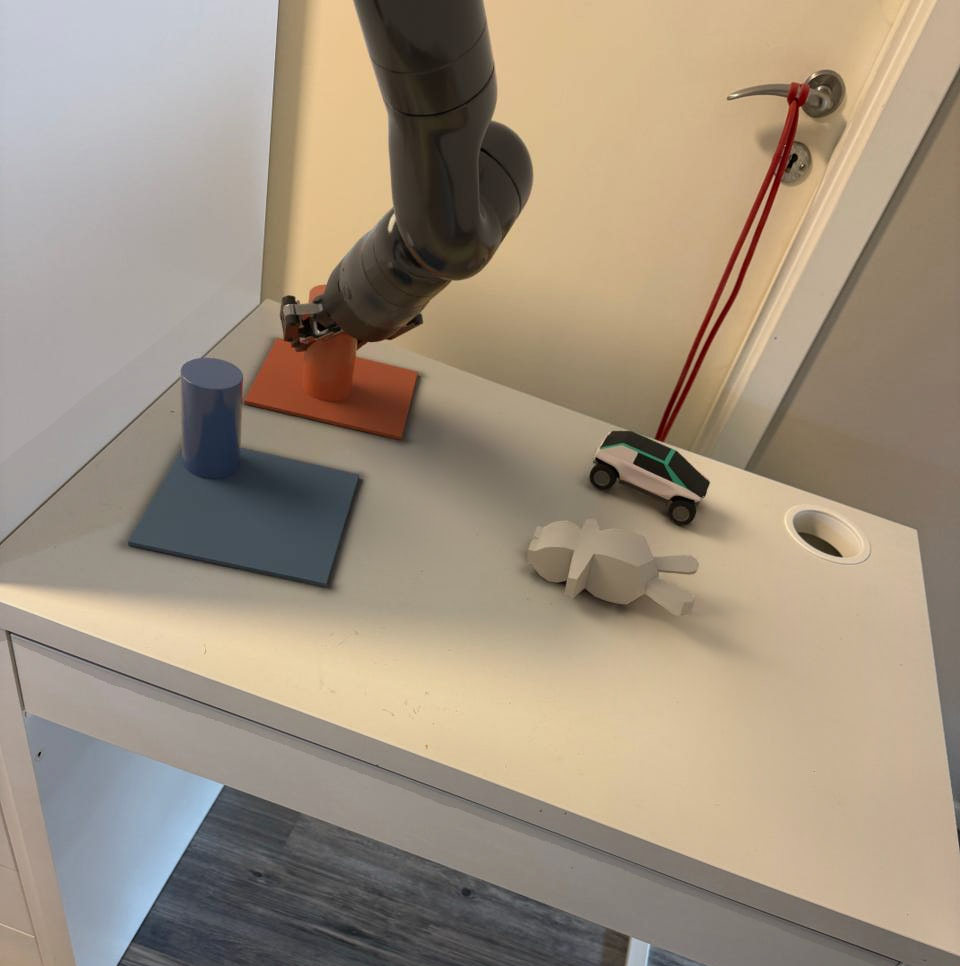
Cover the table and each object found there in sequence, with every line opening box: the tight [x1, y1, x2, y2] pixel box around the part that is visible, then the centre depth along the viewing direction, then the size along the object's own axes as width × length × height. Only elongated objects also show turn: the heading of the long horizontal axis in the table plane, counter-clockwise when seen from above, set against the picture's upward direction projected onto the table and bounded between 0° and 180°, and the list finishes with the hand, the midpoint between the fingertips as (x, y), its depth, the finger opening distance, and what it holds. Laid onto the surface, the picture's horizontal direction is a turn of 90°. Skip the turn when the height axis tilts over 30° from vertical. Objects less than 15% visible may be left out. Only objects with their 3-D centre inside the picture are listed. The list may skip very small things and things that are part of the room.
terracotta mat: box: [243, 337, 419, 441], centre depth 93 cm, size 16×14×1 cm
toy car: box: [588, 430, 711, 526], centre depth 90 cm, size 6×12×5 cm, turn 65°
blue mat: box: [127, 447, 360, 588], centre depth 76 cm, size 16×16×1 cm
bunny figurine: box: [525, 518, 700, 617], centre depth 78 cm, size 10×5×15 cm
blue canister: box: [180, 357, 244, 479], centre depth 76 cm, size 5×5×9 cm
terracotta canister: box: [302, 284, 358, 401], centre depth 89 cm, size 5×5×10 cm
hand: (324, 341), depth 90 cm, fingers closed on terracotta canister, 5 cm apart
